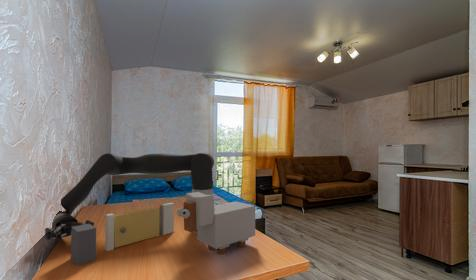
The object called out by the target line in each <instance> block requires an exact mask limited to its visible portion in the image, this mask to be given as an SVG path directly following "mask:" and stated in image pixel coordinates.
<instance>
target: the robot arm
mask: <svg viewBox="0 0 476 280" xmlns="http://www.w3.org/2000/svg"><path fill="white" fill-rule="evenodd" d="M214 166H215V160H214V157H213V156H212V155H211V154H210V153H207V152H199V153H194V154H193V153H192V154H175V153H147V154H143V155H141V156H140V155H139V156H135V157H129V156H128V157H127V156H119V155H116V154H113V153H107V152H106V153H104V154H102V155H100V157H98V158H97V160H96V161H94V163H93V165H92V166H91V167H90V169H88V171H87V172H86V173H85V175H84V176H83V177H82V178H81V179H80V181H79V182H78V183H76V184H75V186H74V187H72V188H71V189H70V191H68V192H67V193H66V194H65V195H64V196H63V197H62V198H61V199H60V200H61V204H60V206H61V207H62V208H63V209H64V210H63V212H62V211H59V212H58V213H57V214H56V216H55V217H54V219H53V222H52V228H51V227H45V228H44V237H45V239H46V240H47V241H48V240H51V239H52V238H53V240H54V239H55V240H58V241H62V238H68V237H71V229H72V227H74V226H79V225H84V224H91V225H92V226H94V227H95V222H94V221H91V220H89V219H88V220H85V222H80V221H78V219H77V218H76V217H74V216H73V215H72V214H73V213H74V211H75V210H76V209H77V207H79V206H80V205H81V204H82V203H83V202H84V201H85V200H86V199H87V197H89V196H90V193H91V192H92V190H93V189H94V187H95V185H96V184H97V182H98V181H100V180H101V179H102V178H103V177H105V176H106V175H110V176H119V175H125V174H145V175H147V174H148V175H162V174H171V173H177V172H187V171H188V172H190V181H191V189H192V190H191V193H194V192H200V193H203V194H205V195H213V196H214V181H213V168H214ZM197 228H198V226H196V231H197Z"/></svg>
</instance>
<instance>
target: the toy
mask: <svg viewBox="0 0 476 280" xmlns="http://www.w3.org/2000/svg"><path fill="white" fill-rule="evenodd" d="M214 198H215V197H214V194H213V195H205V194H203V193H200V192H194V193H192V192H188V193H187V192H186V194H185V201H183V207H179V208H178V209H177V211H176V213H177V216H178V217H180V218H181V217H182V218H183V230H184V231H187V232H190V233H194V232H196V231H197V234H196V235H197V237H196V238H197V241H199V242H202V243H204V244H206V245H207V248H208V249H210V250H215V249H217V250H216V251H217V254H219V255H224V254H226V253H227V248H229V247H230V245H231V244H234V243H237V247H240V248H245V246H246V241H248V240H249V238H253V237H255V236H256V205H253V204H249V203H245V202H239V201H231V202H227V203H221V204H217V205H215V200H214ZM196 226H198V228H197V230H196Z"/></svg>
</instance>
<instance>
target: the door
mask: <svg viewBox="0 0 476 280" xmlns="http://www.w3.org/2000/svg"><path fill="white" fill-rule="evenodd" d="M159 207H160V206H159ZM159 207H158V206H157V207H152V208H147V209H146V208H145V209H141V210H140V209H139V210H136V211H130V212H126V213H125V212H124V213H120V214H114V249H115V248H120V247H122V246H123V247H124V246H126V245H129V244H133V243H137V242H141V241H144V240H147V239H151V238H155V237H158V236H159V212H160V208H159Z"/></svg>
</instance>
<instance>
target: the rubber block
mask: <svg viewBox="0 0 476 280" xmlns="http://www.w3.org/2000/svg"><path fill="white" fill-rule="evenodd" d="M96 254H97V227H95V225H94V226H92V225H91V224H84V225H79V226H74V227H72V229H71V235H70V260H71V261H72V262H73V264H75V266H77V267H78V266H82V265H84V264H85V265H86V264H88V263H92V262H94V261H96V258H97V257H96Z"/></svg>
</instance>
